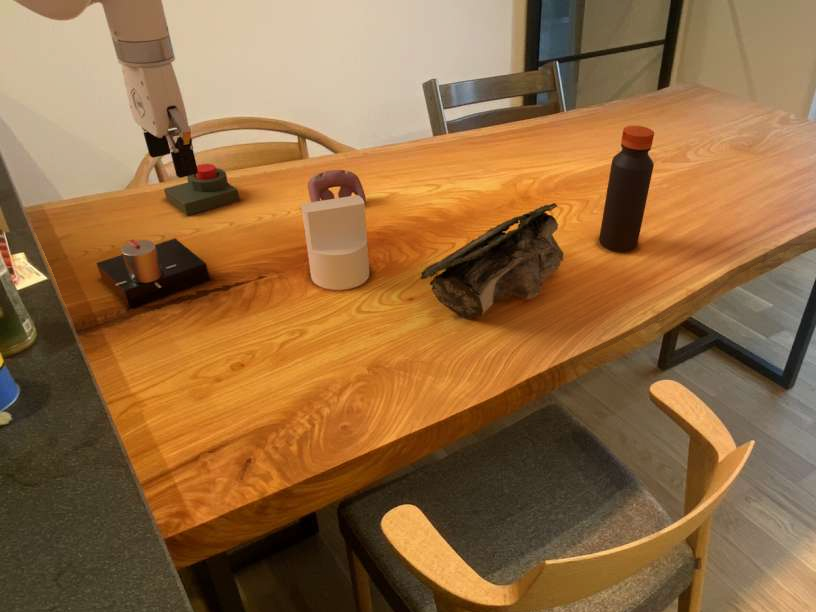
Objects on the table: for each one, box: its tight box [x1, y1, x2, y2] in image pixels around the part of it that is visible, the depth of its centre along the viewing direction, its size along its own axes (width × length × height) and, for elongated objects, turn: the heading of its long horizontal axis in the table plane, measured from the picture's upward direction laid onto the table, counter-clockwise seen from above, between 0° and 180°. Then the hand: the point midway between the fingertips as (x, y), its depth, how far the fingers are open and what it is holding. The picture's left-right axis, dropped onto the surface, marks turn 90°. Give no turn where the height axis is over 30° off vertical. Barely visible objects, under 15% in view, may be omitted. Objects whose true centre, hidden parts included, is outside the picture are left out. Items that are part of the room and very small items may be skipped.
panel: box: [95, 238, 211, 309], centre depth 103 cm, size 12×12×3 cm
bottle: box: [598, 125, 655, 253], centre depth 115 cm, size 7×7×20 cm
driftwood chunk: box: [420, 202, 564, 320], centre depth 103 cm, size 28×13×15 cm
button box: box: [163, 167, 240, 216], centre depth 125 cm, size 10×8×4 cm
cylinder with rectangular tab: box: [301, 194, 370, 291], centre depth 105 cm, size 9×9×12 cm
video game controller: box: [307, 169, 367, 205], centre depth 126 cm, size 10×5×7 cm, turn 116°
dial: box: [120, 239, 163, 283], centre depth 98 cm, size 4×4×5 cm
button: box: [196, 163, 217, 180], centre depth 125 cm, size 4×4×2 cm
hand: (173, 165), depth 109 cm, fingers open, 9 cm apart
